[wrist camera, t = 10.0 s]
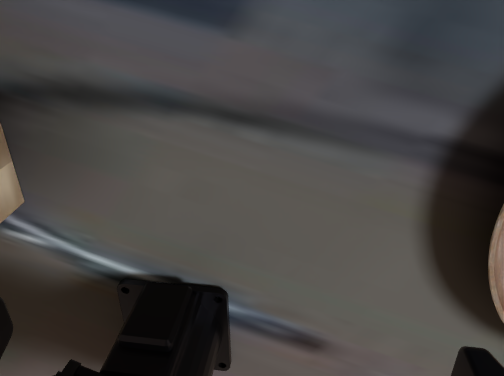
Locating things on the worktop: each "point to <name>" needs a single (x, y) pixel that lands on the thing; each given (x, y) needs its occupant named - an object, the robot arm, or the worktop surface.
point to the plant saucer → (497, 265)
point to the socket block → (8, 182)
